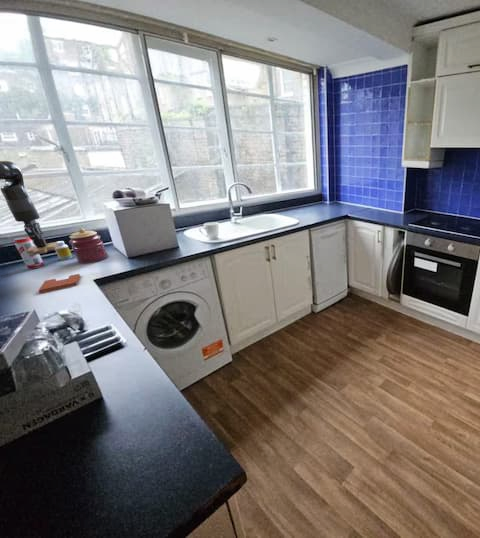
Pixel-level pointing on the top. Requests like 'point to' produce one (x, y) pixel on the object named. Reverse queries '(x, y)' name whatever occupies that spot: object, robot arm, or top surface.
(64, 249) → the supplement bottle
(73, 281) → the rubber pad
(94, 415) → the top surface
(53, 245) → the cork pad
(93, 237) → the kitchen canister
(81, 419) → the top surface
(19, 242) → the beer can
